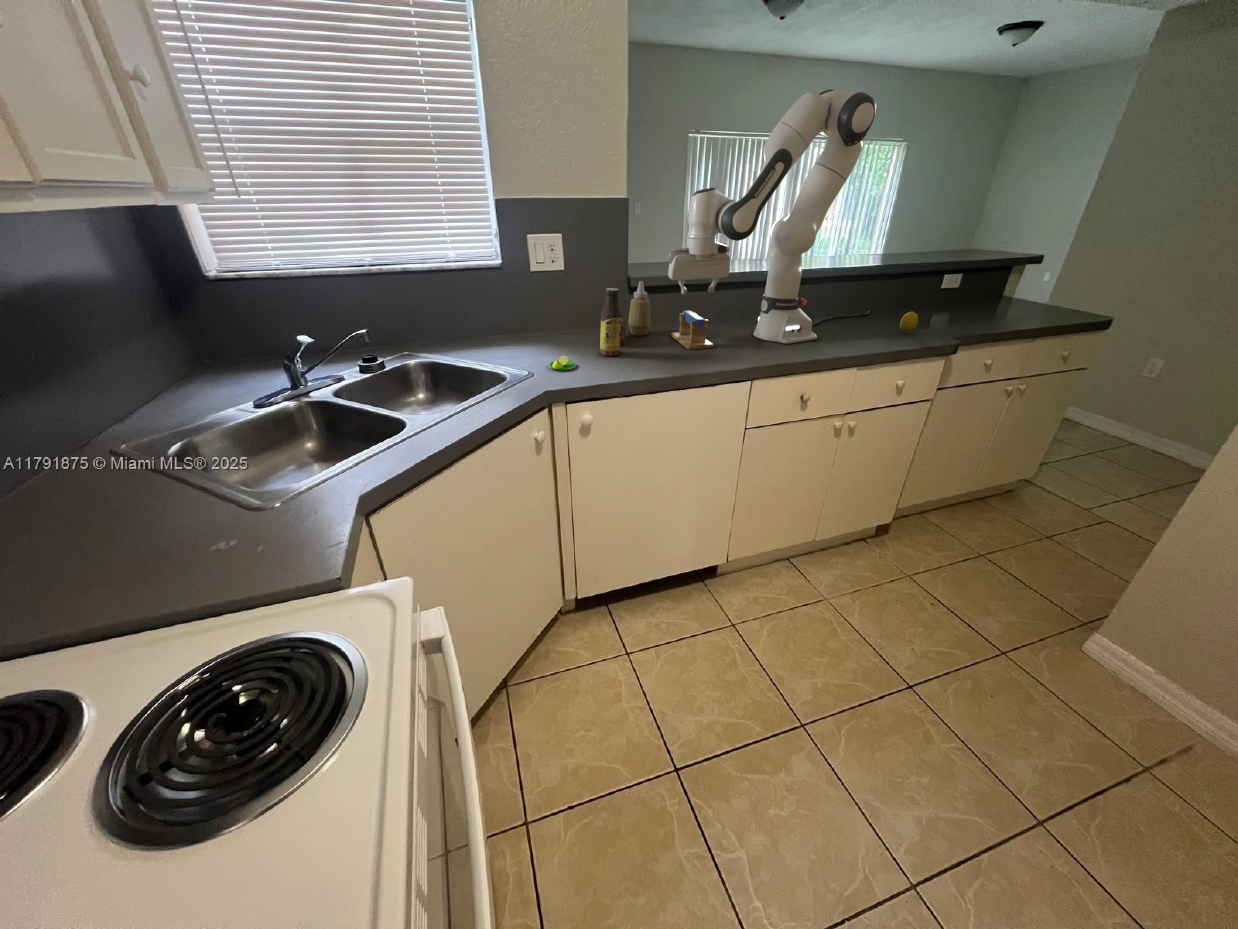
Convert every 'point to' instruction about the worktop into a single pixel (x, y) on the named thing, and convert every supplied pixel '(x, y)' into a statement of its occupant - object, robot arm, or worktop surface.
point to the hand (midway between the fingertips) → (697, 292)
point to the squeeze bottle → (639, 312)
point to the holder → (692, 335)
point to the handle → (692, 316)
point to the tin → (622, 332)
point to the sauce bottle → (610, 324)
